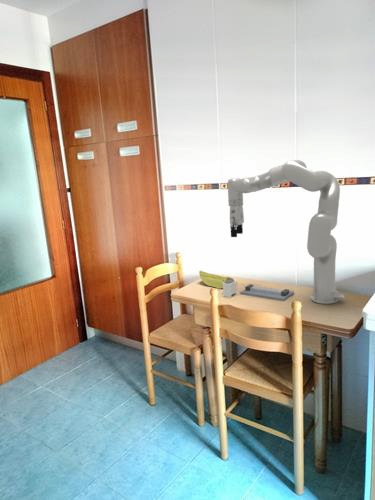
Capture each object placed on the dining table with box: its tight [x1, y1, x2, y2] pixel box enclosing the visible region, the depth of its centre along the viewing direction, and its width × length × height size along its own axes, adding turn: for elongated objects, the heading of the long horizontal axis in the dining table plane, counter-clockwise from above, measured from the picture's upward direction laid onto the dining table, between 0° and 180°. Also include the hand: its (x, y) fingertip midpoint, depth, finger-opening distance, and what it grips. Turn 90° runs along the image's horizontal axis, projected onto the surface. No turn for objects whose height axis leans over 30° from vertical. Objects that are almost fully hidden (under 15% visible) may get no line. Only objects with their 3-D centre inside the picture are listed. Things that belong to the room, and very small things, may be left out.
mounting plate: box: [239, 286, 295, 302], centre depth 198 cm, size 24×12×1 cm, turn 52°
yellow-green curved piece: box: [198, 270, 234, 290], centre depth 222 cm, size 20×7×10 cm
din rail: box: [244, 283, 290, 296], centre depth 198 cm, size 22×5×2 cm, turn 52°
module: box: [222, 280, 238, 298], centre depth 200 cm, size 4×6×8 cm
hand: (236, 235), depth 205 cm, fingers open, 9 cm apart
